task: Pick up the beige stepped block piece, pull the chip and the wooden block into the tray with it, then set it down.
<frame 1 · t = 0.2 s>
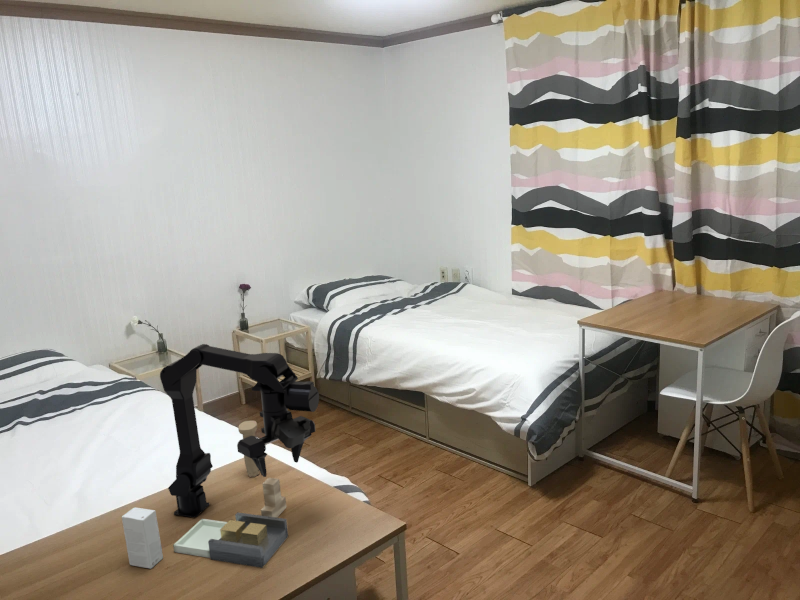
hand: (280, 469, 151), 14 cm above the table, tool pointing down, fingers open, 9 cm apart
handle: (253, 475, 178), on the table
chip a: (255, 538, 143), point 2 cm above the table, touching slot rail
beige stepped block piece: (274, 514, 158), on the table
skincare box: (146, 562, 141), on the table
tray: (206, 540, 148), on the table
slot rail: (250, 547, 144), on the table
wooden block b: (233, 535, 145), point 2 cm above the table, touching slot rail
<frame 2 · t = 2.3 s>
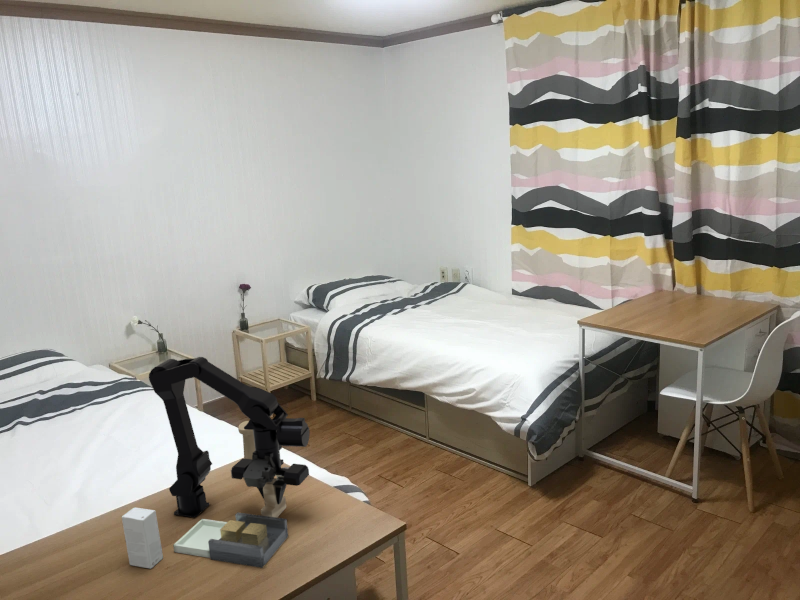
hand: (273, 502, 157), 3 cm above the table, tool pointing down, fingers closed on beige stepped block piece, 3 cm apart
beige stepped block piece: (274, 513, 158), on the table, touching gripper
everything else where it was.
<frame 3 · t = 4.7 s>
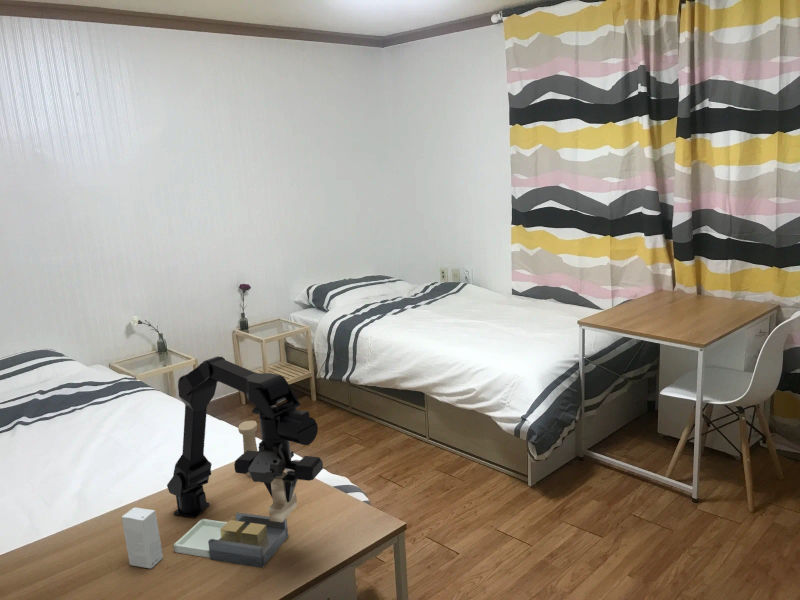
hand: (282, 500, 139), 13 cm above the table, tool pointing down, fingers closed on beige stepped block piece, 3 cm apart
beige stepped block piece: (283, 512, 139), point 10 cm above the table, touching gripper
everything else where it was.
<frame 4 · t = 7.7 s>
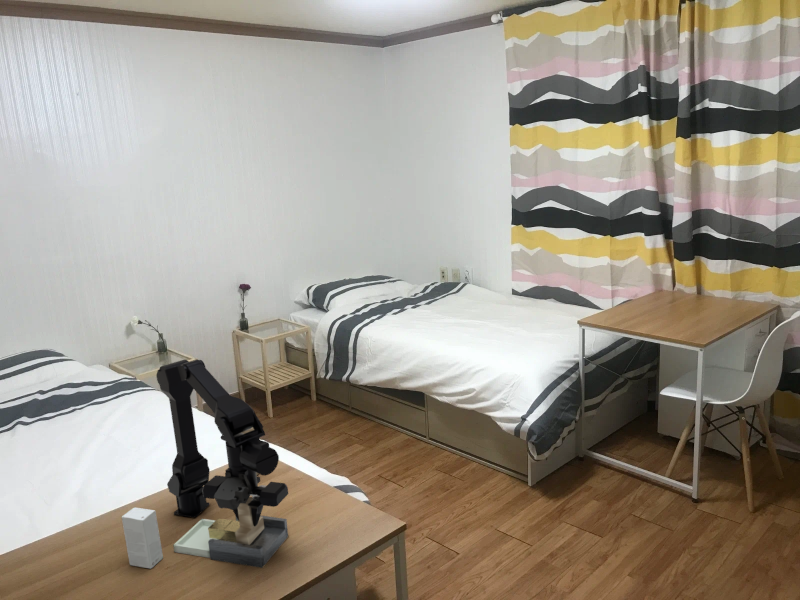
hand: (249, 524, 143), 6 cm above the table, tool pointing down, fingers closed on beige stepped block piece, 3 cm apart
chip a: (237, 536, 145), point 3 cm above the table, touching wooden block b, beige stepped block piece
beige stepped block piece: (250, 536, 144), point 3 cm above the table, touching chip a, gripper
wooden block b: (222, 533, 146), point 2 cm above the table, touching chip a
everything else where it was.
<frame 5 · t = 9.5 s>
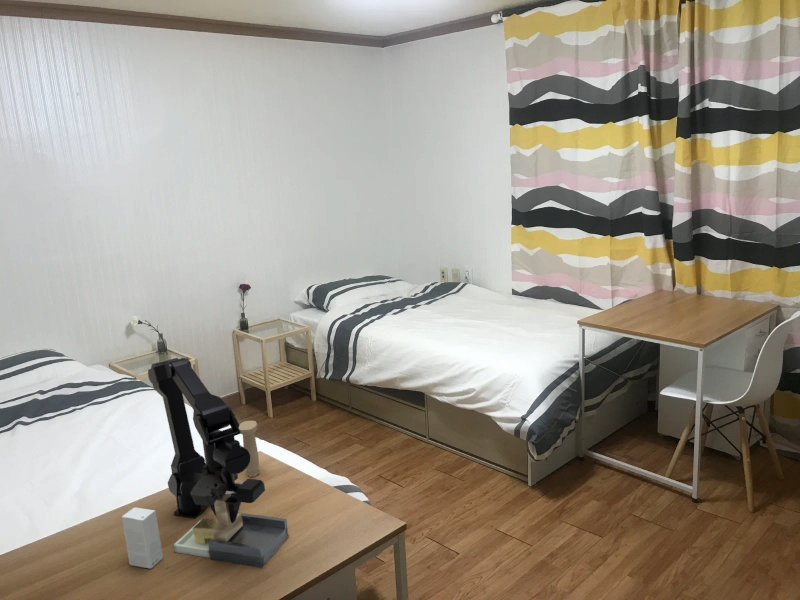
hand: (226, 521, 145), 6 cm above the table, tool pointing down, fingers closed on beige stepped block piece, 3 cm apart
chip a: (216, 533, 146), point 2 cm above the table, touching wooden block b, beige stepped block piece
beige stepped block piece: (229, 533, 145), point 3 cm above the table, touching chip a, gripper
wooden block b: (208, 531, 147), point 3 cm above the table, tilted 93°, touching chip a, tray
everything else where it was.
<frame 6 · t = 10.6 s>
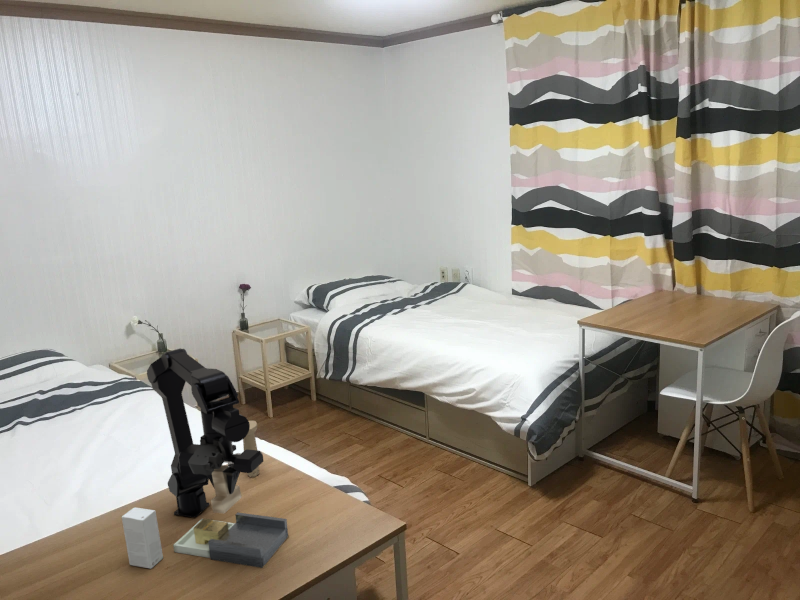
hand: (225, 492, 143), 13 cm above the table, tool pointing down, fingers closed on beige stepped block piece, 3 cm apart
chip a: (216, 536, 146), point 2 cm above the table, touching wooden block b, tray
beige stepped block piece: (227, 504, 144), point 10 cm above the table, touching gripper
everything else where it was.
when the fingers open (4 cm above the table, at t = 13.4 s): beige stepped block piece drops 1 cm, on the table.
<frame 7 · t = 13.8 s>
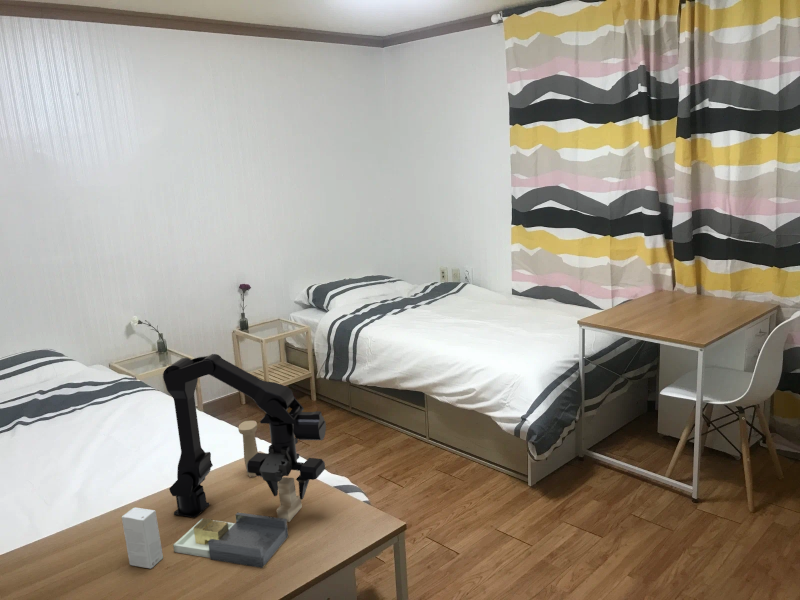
hand: (288, 497, 156), 4 cm above the table, tool pointing down, fingers open, 7 cm apart
beige stepped block piece: (290, 513, 157), on the table
everything else where it was.
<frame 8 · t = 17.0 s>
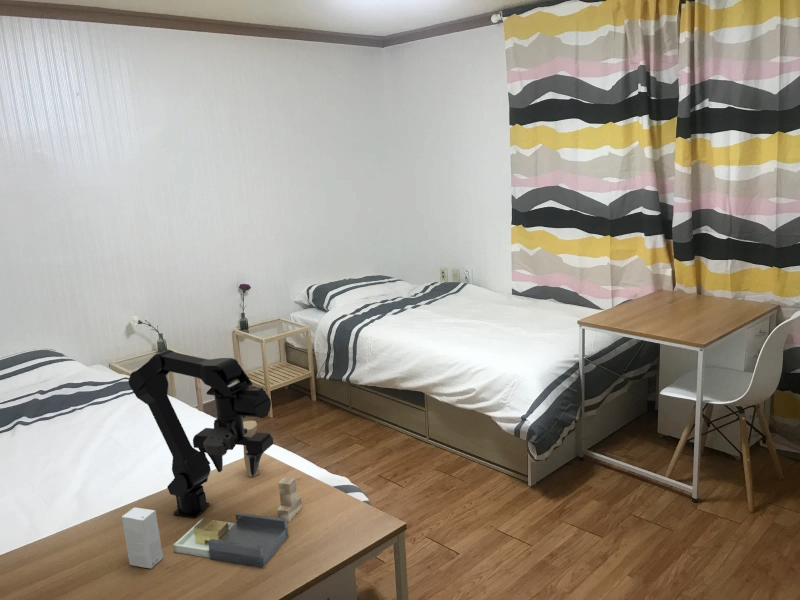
hand: (236, 473, 152), 13 cm above the table, tool pointing down, fingers open, 9 cm apart
nothing on the table moved.
at the end: chip a inside the target area on the tray (3.1 cm from its centre), point 1.8 cm above the tray's base; wooden block b inside the target area on the tray (1.1 cm from its centre), point 2.5 cm above the tray's base; beige stepped block piece inside the target area (0.1 cm from its centre), on the table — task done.
